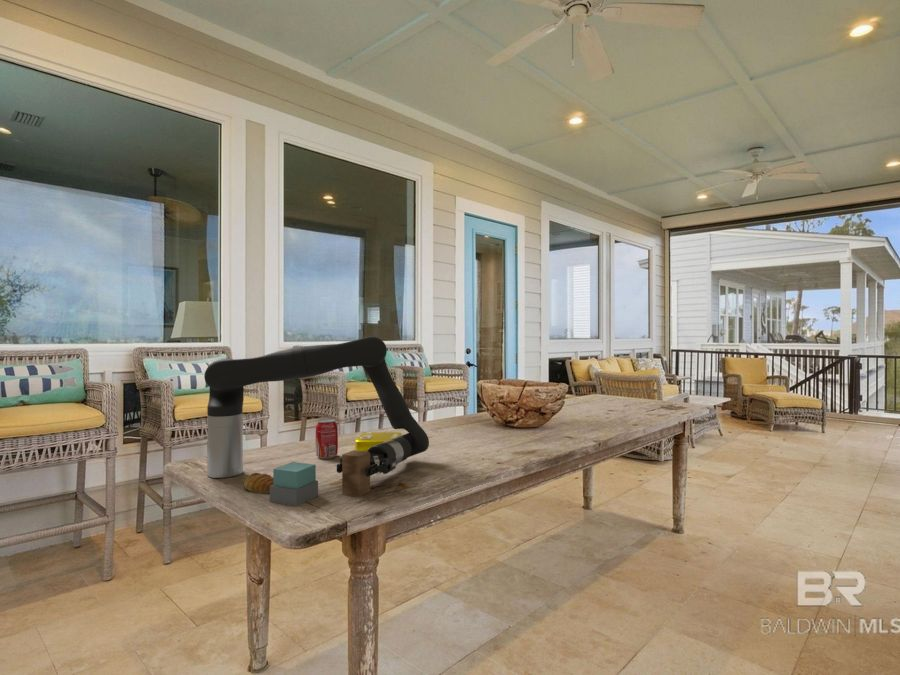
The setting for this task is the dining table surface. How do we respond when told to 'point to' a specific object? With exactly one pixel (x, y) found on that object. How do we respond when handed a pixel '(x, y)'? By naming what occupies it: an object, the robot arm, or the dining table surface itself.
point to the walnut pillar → (355, 473)
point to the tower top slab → (294, 475)
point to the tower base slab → (293, 494)
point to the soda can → (326, 438)
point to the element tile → (373, 439)
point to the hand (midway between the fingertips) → (352, 470)
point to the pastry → (258, 483)
